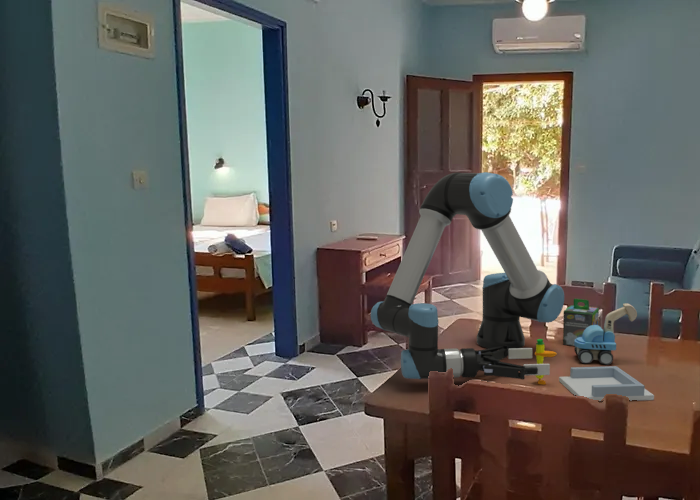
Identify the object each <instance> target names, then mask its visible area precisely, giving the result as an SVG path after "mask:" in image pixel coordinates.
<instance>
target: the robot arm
mask: <svg viewBox="0 0 700 500" xmlns="http://www.w3.org/2000/svg"><path fill="white" fill-rule="evenodd" d="M513 195H514V194H513V188H512V186H511V184H510V183H509V181H508V180H507V179H506V178H505V177H504V176H503V175H500V174H498V173H492V172H488V171H487V172H486V171H484V172H452V173H449V174H447V175H445V176H443V177H442V178H440V179H439V180H438V181H437V182H436V183H434V185H433V186H432V187H431V189H430V190H429V192H428V193H427V194H426V196H425V198H424V199H423V202H422V203H421V205H420V208H419V211H418V213H419V215H420V217H419V219H418V221H417V224H416V227H415V229H414V230H413V233H412V236H411V237H410V240H409V242H408V245H407V247H406V249H405V252H404V254H403V257H402V259H401V261H400V263H399V266H398V268H397V270H396V272H395V275H394V277H393V280H392V282H391V284H390V287H389V288H388V291H387V294H386V296H385V298H384V299H383V301H378V302H376V303H375V304H374V305H373V307H372V308H371V310H370V320H371V322H372V324H373V325H374V326H375V327H376V328H379V329H382V330H383V331H386V332H390V333H394V334H396V335H397V334H398V335H400V336H404V337H405V338H408V348H407V349H403V350H401V353H400V369H401V370H400V371H401V376H403V378H404V379H414V380H415V379H416V380H417V379H418V380H423V379H424V380H427V379H429V378H428V376H429V372H430V371H438V372H446V371H447V370H448V369H450V368H452V369H453V375H454V378H460V377H462V378H476V377H477V374H478V371H480V372H483V375H484V376H492V377H493V376H495V377H503V378H511V379H519V380H522V381H523V380H525V379H526V378H525V377H526V376H535V375H544V376H550V374H551V372H550V369H551V364H550V363H543V364H537V363H529V364H528V363H525V364H523V365H520V364H514V363H509V362H505V361H501V360H504V359H508V360H516V359H519V360H520V359H525V360H526V359H533V348H532V347H524V346H526V345H525V343H526V342H525V341H526V338H525V337H526V336H525V334H524V332H523V331H524V330H523V328H522V325H521V322H520V318H523V319H528V320H531V321H536V322H539V323H547V324H549V323H552V322H554V321H555V320H556V319H557V318H559V316H560V314H561V313H562V311H563V308H564V302H565V292H564V289H563V288H562V286H560V285H559V284H557V283H554V284H552V283H551V282H550V280H549V277H548V276H547V275H546V273H545V272H544V271H542V270H538V268H537V266H536V265H535V263H534V261H533V258H532V257H531V255H530V253H529V251H528V249H527V247H526V245H525V243H524V242H523V239H522V237H521V236H520V234H519V232H518V230H517V228H516V225H515V224H514V223H513V221H512V218H511V216H510V215H511V213H512V205H513V203H514V202H513V201H514V198H512V196H513ZM456 215H462V216H466V217H467V218H468V220H469V222H470V224H471V226H472V227H473V228H474V229H475V230H479V231H481V232H482V233H483V236H484V238H485V240H486V241H487V243H488V245H489V246H490V248H491V250H492V251H493V254H494V255H495V258H496V259H497V261H498V263H499V264H500V266H501V268H502V269H503V272H498V273H497V272H496V273H491V274H490V273H489V274H487V275H485V276H484V277H483V281H482V282H483V283H482V320H481V323H480V326H479V329H478V332H477V334H476V344H477V345H479V347H482V348H484V349H477V350H475V348H473V347H470V348H469V347H467V348H460V349H458V348H439V346H438V345H439V344H438V343H439V342H438V341H439V314H438V308H437V306H436V305H434V304H432V303H425V302H422V303H421V302H420V303H419V302H418V303H414V300H415V299H416V296H417V293H418V291H419V289H420V286H421V284H422V281H423V280H424V278H425V275H426V273H427V270H428V268H429V266H430V263H431V261H432V258H433V255H434V254H435V251H436V249H437V246H439V245H438V244H439V242H440V241H441V237H442V236H443V232H444V230H445V229H446V227H448V226H450V225H451V223H452V220H453V218H455V216H456ZM454 378H453V379H454Z"/></svg>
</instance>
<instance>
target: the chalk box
mask: <svg viewBox="0 0 700 500" xmlns="http://www.w3.org/2000/svg"><path fill="white" fill-rule="evenodd" d="M579 303H583V304H584V305H579ZM599 310H600V309H599V307H597V306H590V302H589V300H588V299H585V298H584V299H583V298H574V299H573V305H570V306H568V307H566V308H565V310H563V315H562V316H563V324H562V325H563V326H562V327H563V328H562V329H563V331H562V335H563V336H562V338H563V339H562V340H563V341H562V344H563V345H564V346H565V345H566V346H573V347H575V345H574V340H575V339H577V338H578V337H582V335H583V332H584V330H585V329H586V328H587V327H589V326H591V325H598V326H600V325H599V322H600V321H599V319H600V318H599V317H600V314H599V312H600V311H599Z"/></svg>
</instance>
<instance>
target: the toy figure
mask: <svg viewBox="0 0 700 500" xmlns="http://www.w3.org/2000/svg"><path fill="white" fill-rule="evenodd" d="M535 346H536V347H535V348H536V349H535V352H534V356H536V357H535V359H536V364H544V360H545V359H544V358H554V357H555V356H557V352H555V351H553V350H552V351H551V350H545V348H546V347H545V342H544V339H543V338H538V339H536V343H535ZM544 376H545V375H534V377H535V378H536V379H538V381H537V385H543V386H544V385H547V382H546V380H543V378H544Z"/></svg>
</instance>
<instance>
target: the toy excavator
mask: <svg viewBox="0 0 700 500" xmlns="http://www.w3.org/2000/svg"><path fill="white" fill-rule="evenodd" d="M626 315H627V316H628V320H629V322H634V321H635V320H636V318H637V316H638V312H637V309H636V308H635V307H634V306H633V305H631V304H630V303H622V306H621V307H620V308H618V309H614V310H613V311H611V312H609V313H607V314H606V315H605V319H604V324H603V325H604V326H603V327H601V325H599V326H598V325H591V326H589V327H587V328H586V329H585V330H584V332H583V335H582V337H578V338H577V339H575V340H574V345H575V346H574V353H575V355H576V356H577V358H578V360H579V362H581V363H582V364H584V365H585V364H591V363H592V362H593V361H598V362H599V363H600V364H601V365H604V366H609V365H610V364H612V362H614V355H613V353H612V351H617V343H616V342H615V341H616V340H615V339H616V335H615V332H614V327H615V326H614V324H615V321H617V320H619V319H620V318H622V317H624V316H626Z"/></svg>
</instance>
